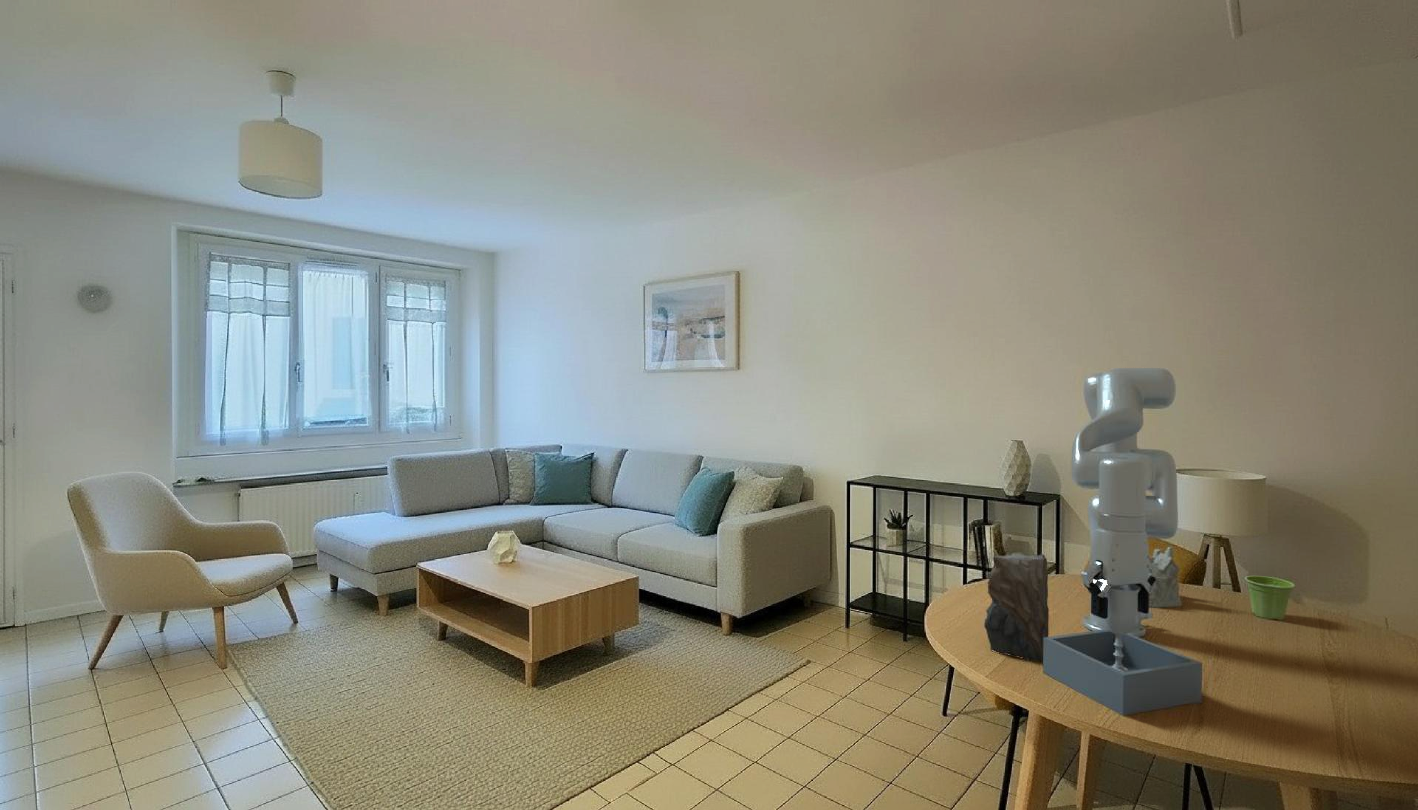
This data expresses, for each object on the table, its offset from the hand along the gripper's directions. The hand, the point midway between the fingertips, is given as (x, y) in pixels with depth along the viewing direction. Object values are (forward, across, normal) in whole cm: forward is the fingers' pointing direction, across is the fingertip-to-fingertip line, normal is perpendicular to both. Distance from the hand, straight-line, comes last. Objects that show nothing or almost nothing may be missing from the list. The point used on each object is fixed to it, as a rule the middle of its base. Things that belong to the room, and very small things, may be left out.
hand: (1119, 613), depth 126 cm
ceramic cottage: (+14, -53, -40) cm, 68 cm away
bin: (+14, 0, 0) cm, 14 cm away
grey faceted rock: (+14, +5, -19) cm, 24 cm away
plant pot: (+14, -69, -20) cm, 73 cm away
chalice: (+13, 0, 0) cm, 13 cm away
